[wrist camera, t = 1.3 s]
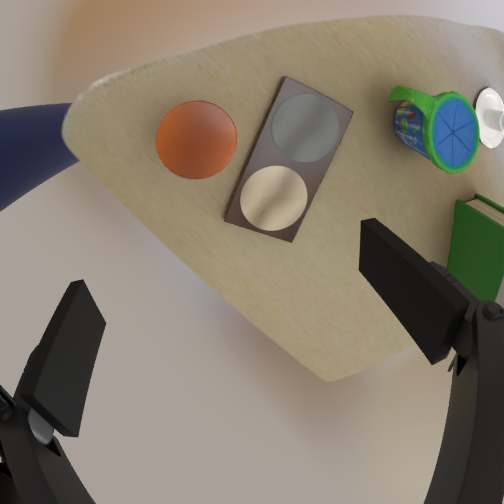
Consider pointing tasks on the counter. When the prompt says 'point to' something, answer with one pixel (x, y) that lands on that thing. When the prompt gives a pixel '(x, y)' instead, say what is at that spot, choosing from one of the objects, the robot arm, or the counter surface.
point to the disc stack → (196, 140)
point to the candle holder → (490, 117)
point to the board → (288, 161)
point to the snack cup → (437, 127)
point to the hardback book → (479, 248)
